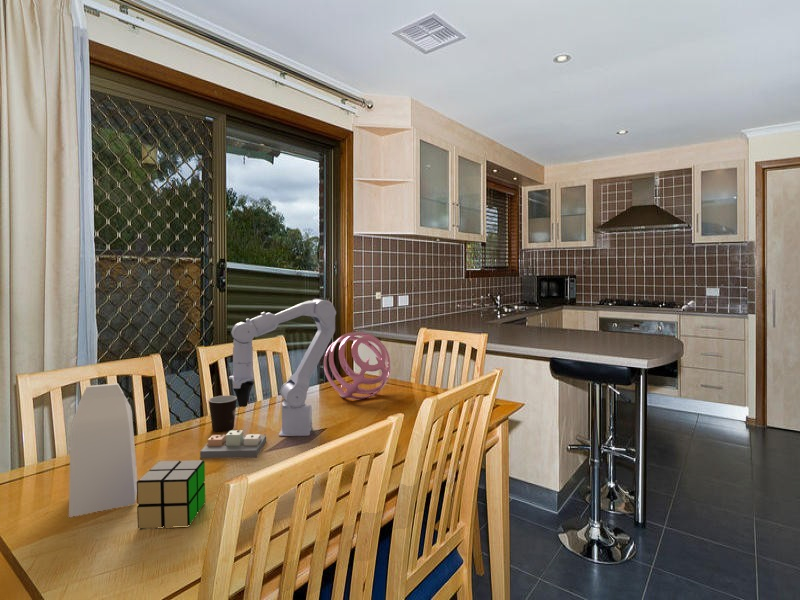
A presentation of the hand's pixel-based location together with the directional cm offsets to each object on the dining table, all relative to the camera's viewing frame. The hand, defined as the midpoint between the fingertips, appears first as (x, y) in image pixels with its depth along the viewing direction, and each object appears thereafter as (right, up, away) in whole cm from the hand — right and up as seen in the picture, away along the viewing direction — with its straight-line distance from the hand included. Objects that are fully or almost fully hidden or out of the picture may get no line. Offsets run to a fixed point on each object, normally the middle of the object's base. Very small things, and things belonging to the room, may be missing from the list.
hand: (243, 406), depth 140 cm
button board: (0, -11, -7) cm, 13 cm away
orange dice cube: (-5, -11, -8) cm, 14 cm away
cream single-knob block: (+5, -11, -7) cm, 14 cm away
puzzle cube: (0, -13, -43) cm, 45 cm away
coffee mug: (-9, -10, +11) cm, 18 cm away
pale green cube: (0, -9, -7) cm, 12 cm away
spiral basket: (+31, -8, +50) cm, 59 cm away
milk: (-18, -13, -37) cm, 43 cm away
